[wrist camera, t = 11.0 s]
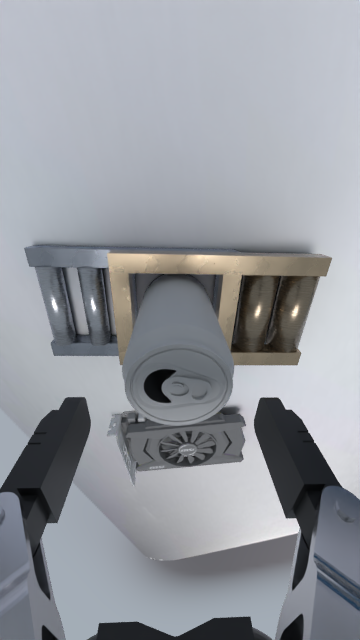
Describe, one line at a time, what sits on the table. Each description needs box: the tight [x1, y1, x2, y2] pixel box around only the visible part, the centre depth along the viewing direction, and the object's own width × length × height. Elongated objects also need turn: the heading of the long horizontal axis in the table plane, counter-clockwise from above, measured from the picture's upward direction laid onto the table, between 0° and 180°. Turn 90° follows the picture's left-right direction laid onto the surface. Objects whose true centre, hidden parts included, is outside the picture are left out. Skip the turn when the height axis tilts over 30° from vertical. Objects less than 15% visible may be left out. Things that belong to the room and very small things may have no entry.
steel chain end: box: [24, 245, 238, 356], centre depth 21 cm, size 11×18×2 cm, turn 89°
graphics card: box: [107, 411, 246, 486], centre depth 31 cm, size 17×4×12 cm
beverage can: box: [122, 274, 234, 426], centre depth 17 cm, size 6×6×12 cm
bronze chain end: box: [107, 250, 332, 365], centre depth 21 cm, size 11×18×3 cm, turn 89°
